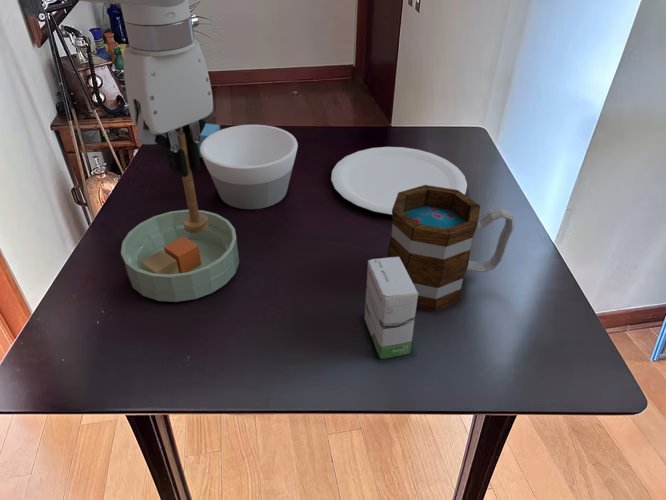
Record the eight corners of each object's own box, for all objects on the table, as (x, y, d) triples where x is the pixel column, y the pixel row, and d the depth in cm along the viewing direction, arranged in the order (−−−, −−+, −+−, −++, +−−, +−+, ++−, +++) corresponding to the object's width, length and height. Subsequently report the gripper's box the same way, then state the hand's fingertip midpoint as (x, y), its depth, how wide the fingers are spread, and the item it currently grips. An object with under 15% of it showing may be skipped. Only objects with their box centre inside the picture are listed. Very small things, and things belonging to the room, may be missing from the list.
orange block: (182, 275, 85) (178, 256, 83) (167, 265, 87) (163, 246, 85) (201, 264, 88) (198, 245, 85) (187, 254, 90) (183, 236, 87)
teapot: (236, 151, 123) (233, 121, 118) (227, 163, 118) (224, 132, 113) (188, 146, 124) (183, 117, 119) (178, 158, 119) (172, 128, 115)
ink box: (411, 354, 74) (421, 294, 67) (378, 360, 73) (384, 299, 66) (393, 313, 80) (400, 253, 73) (362, 317, 80) (366, 257, 72)
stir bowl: (173, 322, 78) (166, 293, 74) (108, 271, 87) (98, 243, 84) (261, 265, 89) (258, 237, 85) (195, 225, 98) (190, 198, 95)
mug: (391, 314, 80) (401, 236, 71) (376, 260, 91) (383, 186, 82) (513, 306, 82) (537, 229, 73) (484, 254, 93) (502, 181, 83)
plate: (464, 159, 121) (465, 152, 120) (468, 229, 99) (469, 222, 98) (342, 147, 125) (342, 140, 124) (318, 212, 102) (318, 205, 101)
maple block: (159, 291, 82) (155, 272, 80) (145, 280, 84) (140, 261, 82) (180, 278, 85) (176, 260, 82) (166, 268, 87) (161, 249, 84)
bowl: (241, 161, 119) (236, 117, 112) (315, 181, 112) (314, 135, 105) (187, 201, 105) (178, 153, 98) (268, 226, 98) (264, 177, 92)
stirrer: (194, 236, 76) (176, 142, 67) (179, 226, 78) (159, 134, 69) (213, 225, 78) (198, 133, 69) (198, 216, 80) (182, 125, 71)
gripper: (194, 15, 68) (212, 143, 79) (82, 41, 58) (121, 182, 70) (232, 26, 64) (245, 159, 75) (118, 56, 54) (154, 203, 66)
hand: (185, 169), depth 72 cm, fingers closed on stirrer, 1 cm apart
